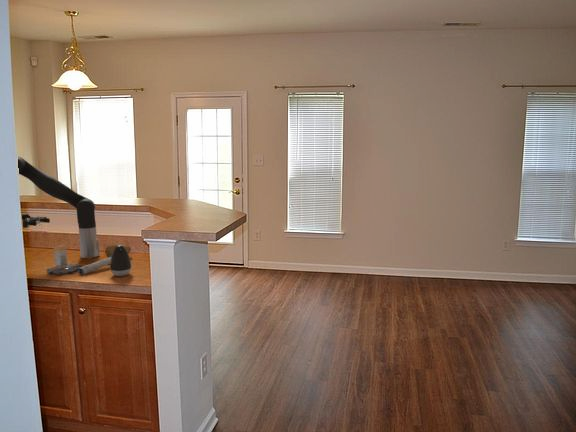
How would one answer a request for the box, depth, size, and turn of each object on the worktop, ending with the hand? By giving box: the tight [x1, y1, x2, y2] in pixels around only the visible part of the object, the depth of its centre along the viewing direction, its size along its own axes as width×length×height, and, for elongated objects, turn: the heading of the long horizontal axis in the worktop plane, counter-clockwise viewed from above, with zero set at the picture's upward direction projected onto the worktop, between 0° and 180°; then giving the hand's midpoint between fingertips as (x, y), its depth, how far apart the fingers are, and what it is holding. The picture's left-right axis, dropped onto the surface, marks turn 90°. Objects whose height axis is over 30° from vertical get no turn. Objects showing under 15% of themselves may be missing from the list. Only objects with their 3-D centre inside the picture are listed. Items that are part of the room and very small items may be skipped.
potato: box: [105, 243, 132, 258], centre depth 272 cm, size 9×16×9 cm, turn 144°
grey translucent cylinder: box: [53, 244, 68, 268], centre depth 250 cm, size 4×4×11 cm
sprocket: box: [46, 263, 82, 277], centre depth 249 cm, size 17×17×2 cm
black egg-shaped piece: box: [109, 245, 132, 277], centre depth 241 cm, size 10×10×15 cm
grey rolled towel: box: [77, 257, 111, 276], centre depth 252 cm, size 5×7×25 cm
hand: (42, 222), depth 250 cm, fingers open, 8 cm apart
